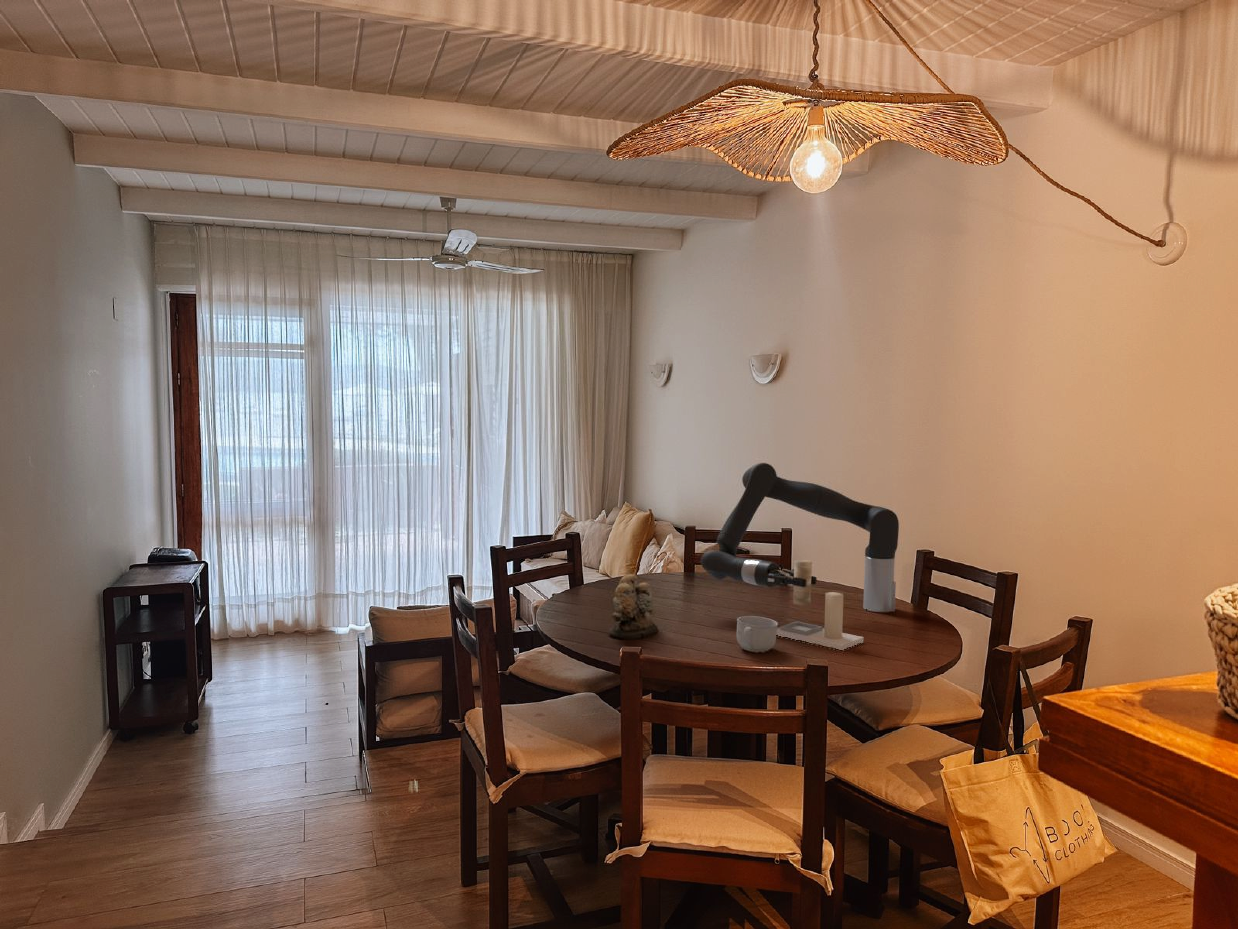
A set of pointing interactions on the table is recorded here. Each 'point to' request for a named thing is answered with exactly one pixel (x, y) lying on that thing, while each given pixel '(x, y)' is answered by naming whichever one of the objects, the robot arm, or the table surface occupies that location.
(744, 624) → the teacup
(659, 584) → the table surface
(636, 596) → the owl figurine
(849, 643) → the board
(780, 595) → the table surface
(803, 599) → the maple post
